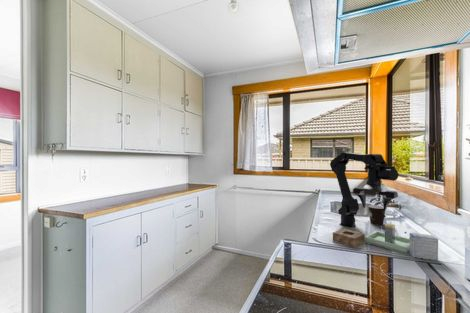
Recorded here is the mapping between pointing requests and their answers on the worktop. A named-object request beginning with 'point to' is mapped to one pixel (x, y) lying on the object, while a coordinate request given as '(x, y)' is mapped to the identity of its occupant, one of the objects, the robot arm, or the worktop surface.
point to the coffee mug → (376, 214)
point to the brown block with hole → (348, 237)
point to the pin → (390, 233)
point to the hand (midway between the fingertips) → (374, 209)
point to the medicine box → (423, 246)
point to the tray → (379, 240)
